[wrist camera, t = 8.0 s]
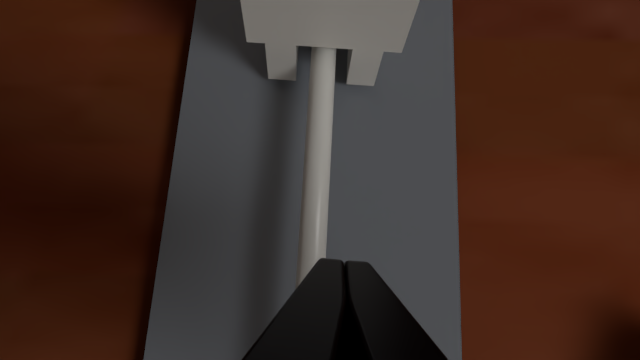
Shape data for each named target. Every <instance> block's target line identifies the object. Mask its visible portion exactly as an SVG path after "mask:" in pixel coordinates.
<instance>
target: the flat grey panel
mask: <svg viewBox="0 0 640 360" xmlns="http://www.w3.org/2000/svg"><path fill="white" fill-rule="evenodd" d="M347 58H348V49H338V48H324V47H310V46H299V47H298V60H297V73H296V81H292V80H278V79H268V70H267V60H266V50H265V43H253V42H247V41H246V34H245V28H244V21H243V15H242V9H241V2H240V0H197V1H196V8H195V15H194V22H193V28H192V35H191V42H190V49H189V55H188V62H187V69H186V76H185V82H184V89H183V96H182V102H181V109H180V116H179V123H178V129H177V136H176V143H175V150H174V156H173V163H172V170H171V177H170V183H169V190H168V197H167V204H166V210H165V217H164V224H163V231H162V237H161V244H160V251H159V258H158V264H157V271H156V278H155V285H154V291H153V298H152V305H151V312H150V318H149V325H148V332H147V339H146V345H145V352H144V359H143V360H242V358H243V357H244V356H245V354H246V353H247V352H248V350H249V349H250V348H251V347H252V345H253V344H254V343H255V341H256V340H257V339H258V337H259V336H260V335H261V334H262V332H263V331H264V330H265V328H266V327H267V326H268V325H269V323H270V322H271V321H272V319H273V318H274V317H275V315H276V314H277V313H278V312H279V310H280V309H281V308H282V306H283V305H284V304H285V302H286V301H287V300H288V299H289V297H290V296H291V295H292V293H293V292H294V291H295V290H296V288H297V287H298V286H299V284H300V283H301V282H302V280H303V279H304V278H305V277H306V275H307V274H308V273H309V271H310V270H311V269H312V268H313V266H314V265H315V264H316V262H317V261H318V260H319V259H320V258H329V259H340V260H342V261H343V262H344V263H345V262H346V261H347V260H352V261H364V262H368V263H370V264H371V265H372V267H373V268H374V269H375V270H376V272H377V273H378V274H379V275H380V276H381V278H382V279H383V280H384V281H385V283H386V284H387V285H388V286H389V287H390V289H391V290H392V291H393V292H394V294H395V295H396V296H397V297H398V298H399V300H400V301H401V302H402V303H403V305H404V306H405V307H406V308H407V309H408V311H409V312H410V313H411V314H412V316H413V317H414V318H415V319H416V321H417V322H418V323H419V324H420V325H421V327H422V328H423V329H424V330H425V332H426V333H427V334H428V335H429V336H430V338H431V339H432V340H433V341H434V343H435V344H436V345H437V346H438V347H439V349H440V350H441V351H442V352H443V354H444V355H445V356H446V357H447V358H448V360H462V348H461V311H460V274H459V237H458V200H457V162H456V125H455V88H454V51H453V14H452V0H420V1H419V4H418V7H417V10H416V13H415V16H414V19H413V21H412V24H411V27H410V30H409V33H408V36H407V39H406V42H405V45H404V47H403V50H402V53H395V52H383V56H382V59H381V63H380V66H379V70H378V73H377V77H376V80H375V84H374V86H365V85H350V84H346V81H347Z"/></svg>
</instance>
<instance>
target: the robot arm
mask: <svg viewBox="0 0 640 360" xmlns="http://www.w3.org/2000/svg"><path fill="white" fill-rule="evenodd" d="M242 360H448V358H447V357H446V356H445V355H444V354H443V352H442V351H441V350H440V349H439V347H438V346H437V345H436V344H435V343H434V341H433V340H432V339H431V338H430V336H429V335H428V334H427V333H426V332H425V330H424V329H423V328H422V327H421V325H420V324H419V323H418V322H417V321H416V319H415V318H414V317H413V316H412V314H411V313H410V312H409V311H408V309H407V308H406V307H405V306H404V305H403V303H402V302H401V301H400V300H399V298H398V297H397V296H396V295H395V294H394V292H393V291H392V290H391V289H390V287H389V286H388V285H387V284H386V283H385V281H384V280H383V279H382V278H381V276H380V275H379V274H378V273H377V272H376V270H375V269H374V268H373V267H372V265H371V264H370V263H368V262H364V261H352V260H347V261H346V262H345V263H344V262H343V261H342V260H340V259H329V258H320V259H319V260H318V261H317V262H316V264H315V265H314V266H313V268H312V269H311V270H310V271H309V273H308V274H307V275H306V277H305V278H304V279H303V280H302V282H301V283H300V284H299V286H298V287H297V288H296V290H295V291H294V292H293V293H292V295H291V296H290V297H289V299H288V300H287V301H286V302H285V304H284V305H283V306H282V308H281V309H280V310H279V312H278V313H277V314H276V315H275V317H274V318H273V319H272V321H271V322H270V323H269V325H268V326H267V327H266V328H265V330H264V331H263V332H262V334H261V335H260V336H259V337H258V339H257V340H256V341H255V343H254V344H253V345H252V347H251V348H250V349H249V350H248V352H247V353H246V354H245V356H244V357H243V358H242Z"/></svg>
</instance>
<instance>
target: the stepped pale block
mask: <svg viewBox="0 0 640 360" xmlns="http://www.w3.org/2000/svg"><path fill="white" fill-rule="evenodd" d="M419 1H420V0H240V2H241V9H242V15H243V21H244V28H245V34H246V41H247V42H253V43H265V50H266V60H267V70H268V79H278V80H292V81H296V73H297V60H298V47H299V46H310V47H324V48H338V49H348V58H347V81H346V84H350V85H365V86H374V84H375V80H376V77H377V73H378V70H379V66H380V63H381V59H382V56H383V52H395V53H402V50H403V47H404V45H405V42H406V39H407V36H408V33H409V30H410V27H411V24H412V21H413V19H414V16H415V13H416V10H417V7H418V4H419Z"/></svg>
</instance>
